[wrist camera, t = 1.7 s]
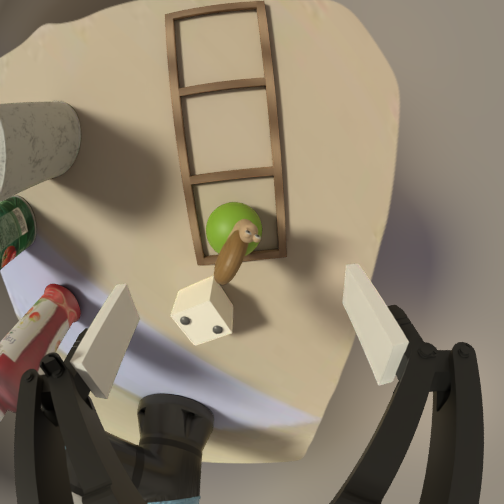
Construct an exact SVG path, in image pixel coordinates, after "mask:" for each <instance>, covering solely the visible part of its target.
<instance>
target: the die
mask: <svg viewBox="0 0 504 504" xmlns="http://www.w3.org/2000/svg"><path fill="white" fill-rule="evenodd" d="M170 316H171V317H172V319H173V320H174V321H175V322H176V324H177V325H178V326H179V327H180V329H181V330H182V331H183V332H184V334H185V335H186V336H187V337H188V338H189V340H190V341H191V342H192V343H193V344H194V346H195V345H198V344H201V343H205V342H208V341H210V340H213V339H216V338H219V337H222V336H225V335H228V334H231V333H232V330H233V305H232V303H231V302H230V300H229V298H228V297H227V295H226V294H225V292H224V291H223V289H222V287H221V286H220V284H218V283H217V282H216V281H215V279H214V275H213V276H211V277H209V278H206V279H204V280H202V281H199V282H197V283H195V284H192V285H190V286H188V287H185V288H183V289H181V290H179V291H178V294H177V297H176V300H175V303H174V306H173V309H172V312H171V315H170Z"/></svg>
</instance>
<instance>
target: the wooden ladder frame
mask: <svg viewBox="0 0 504 504" xmlns="http://www.w3.org/2000/svg"><path fill="white" fill-rule="evenodd" d="M251 9H257V16H258V24H259V32H260V40H261V48H262V57H263V66H264V75H265V78H252V79H240V80H231V81H222V82H215V83H208V84H201V85H195V86H190V87H184V88H179V78H178V67H177V55H176V42H175V26H174V20H178V19H183V18H188V17H193V16H199V15H205V14H212V13H219V12H228V11H238V10H251ZM165 27H166V43H167V57H168V70H169V81H170V91H171V100H172V109H173V118H174V126H175V134H176V141H177V149H178V156H179V162H180V169H181V176H182V182H183V188H184V194H185V200H186V206H187V212H188V217H189V223H190V228H191V234H192V239H193V244H194V249H195V254H196V259H197V264H198V265H209V264H216V261H217V258H218V255H211V256H204V252H203V247H202V242H201V236H200V230H199V225H198V219H197V213H196V207H195V201H194V195H193V188H192V184H197V183H205V182H213V181H221V180H230V179H239V178H248V177H259V176H271V175H274V186H275V200H276V214H277V230H278V246H279V249H272V250H262V251H252V252H251V253H250V254H248V255H246V256H245V257H244V259H243V261H251V260H261V259H271V258H281V257H287V251H286V229H285V211H284V194H283V179H282V164H281V151H280V139H279V127H278V116H277V105H276V95H275V85H274V75H273V66H272V58H271V49H270V41H269V33H268V25H267V18H266V11H265V4H264V1H252V2H238V3H227V4H219V5H211V6H205V7H199V8H193V9H188V10H183V11H178V12H173V13H169V14H165ZM257 86H266V94H267V104H268V115H269V125H270V137H271V148H272V160H273V167H261V168H250V169H240V170H231V171H223V172H214V173H207V174H199V175H192V176H191V175H190V168H189V161H188V154H187V147H186V139H185V132H184V124H183V115H182V106H181V96H187V95H192V94H198V93H204V92H211V91H218V90H226V89H235V88H245V87H257Z"/></svg>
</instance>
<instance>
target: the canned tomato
mask: <svg viewBox="0 0 504 504" xmlns="http://www.w3.org/2000/svg"><path fill="white" fill-rule="evenodd" d="M35 237H36V220H35V217H34V214H33V211H32V209H31V207H30V206H29V204H28V203H27V202H26V201H25V200H24V199H23V198H22V197H20V196H11V197H9V198H8V199H6V200H3V201H2V202H0V270H1V269H2V268H3V267H4V266H5V265H7V264H8V263H9V262H10V261H11V260H12V259H14V258H15V257H16V256H17V255H19V254H20V253H21V252H22V251H24V250H25V249H26V248H27V247H29V246H31V245H32V244H33V242H34V240H35Z"/></svg>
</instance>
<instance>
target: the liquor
mask: <svg viewBox="0 0 504 504" xmlns="http://www.w3.org/2000/svg"><path fill="white" fill-rule="evenodd" d="M80 314H81V313H80V307H79V304H78V302H77V300H76V298H75V296H74V295H73V294H72V292H71V291H69V290H68V289H67V288H65V287H63V286H60V285H58V284H50V285H48V286H47V287H46V288H45V291H44V295H43V296H42V297H41V298H40V299H39V300H38V301H37V302H36V303H35V304H34V305H33V307H32V308H31V309H30V310H29V311H28V312H27V313H26V314H25V315H24V316H23V317H22V319H21V320H20V321H19V322H18V323H17V324H16V325H15V326H14V327H13V329H12V330H11V331H10V332H9V333H8V334H7V335H6V336H5V337H4V338H3V339H2V341H1V342H0V421H1V419H2V418H3V416H4V415H5V413H6V412H7V410H8V411H11V412H13V413H16V410H17V401H18V393H19V386H20V380H21V377H22V375H23V373H24V372H26V371H27V370H29V369H35V370H36V371H37V372H38V373H39V374H40V375H44V374H45V373H44V372H43V370H42V369H41V368H40V361H41V359H42V358H43V357H44V356H45V355H47V354H49V353H52V352H56V350H57V349H58V347H59V345H60V343H61V341H62V340H63V338H64V336H65V335H66V333H67V331H68V330H69V328H70V326H71V325H72V323H73V322H76V321H78V319H79V318H80Z"/></svg>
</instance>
